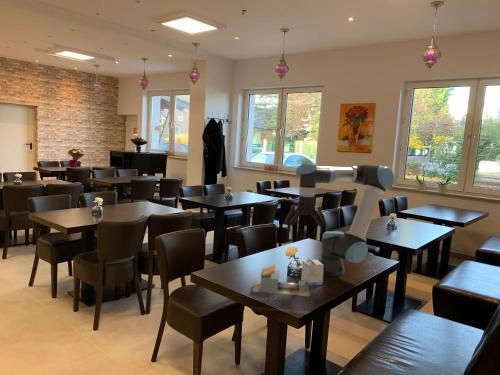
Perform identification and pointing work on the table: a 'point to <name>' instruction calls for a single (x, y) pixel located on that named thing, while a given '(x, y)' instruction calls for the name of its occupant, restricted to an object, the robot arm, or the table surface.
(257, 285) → the birch board
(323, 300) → the table surface
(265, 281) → the hitch block
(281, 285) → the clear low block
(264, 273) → the keeper tab
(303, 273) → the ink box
